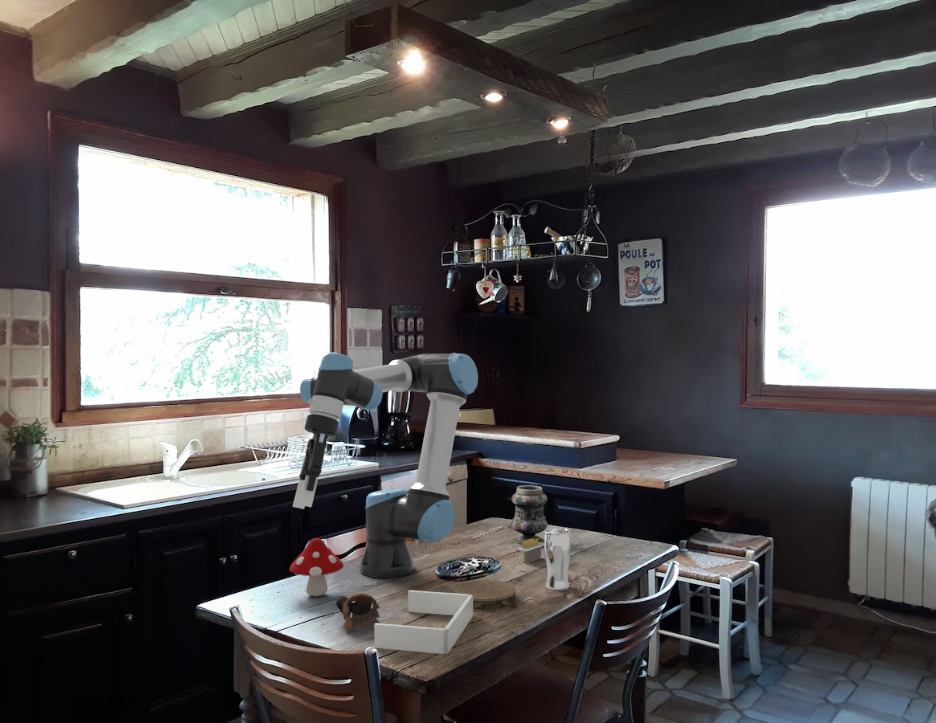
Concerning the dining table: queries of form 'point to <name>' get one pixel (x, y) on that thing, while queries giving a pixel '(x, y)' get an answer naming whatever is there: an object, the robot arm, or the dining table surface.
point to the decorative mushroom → (316, 566)
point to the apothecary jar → (529, 512)
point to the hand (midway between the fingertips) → (301, 507)
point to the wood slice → (487, 593)
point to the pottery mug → (358, 610)
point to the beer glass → (557, 557)
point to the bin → (426, 636)
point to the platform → (531, 549)
